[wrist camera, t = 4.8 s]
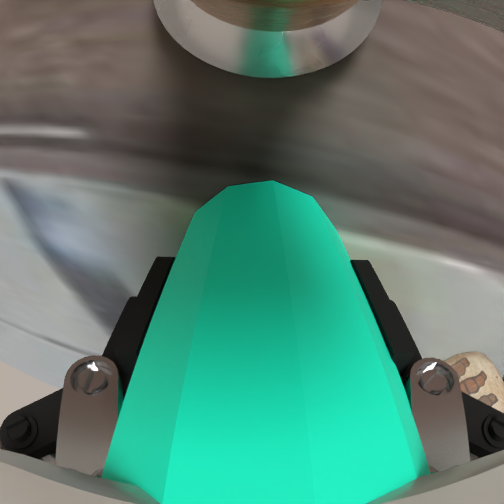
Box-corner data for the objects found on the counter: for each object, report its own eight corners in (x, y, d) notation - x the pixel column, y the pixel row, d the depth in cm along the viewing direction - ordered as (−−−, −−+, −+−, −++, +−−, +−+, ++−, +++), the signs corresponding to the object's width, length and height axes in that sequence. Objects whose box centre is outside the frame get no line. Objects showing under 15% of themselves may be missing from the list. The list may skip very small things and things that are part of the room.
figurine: (382, 399, 18) (421, 571, 7) (474, 332, 15) (556, 505, 4) (424, 422, 20) (460, 551, 9) (498, 370, 17) (555, 499, 7)
